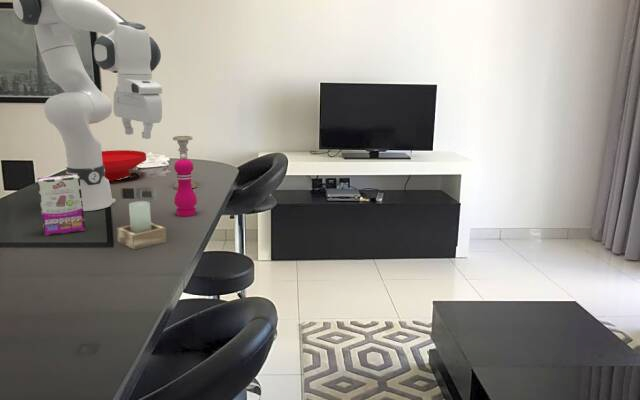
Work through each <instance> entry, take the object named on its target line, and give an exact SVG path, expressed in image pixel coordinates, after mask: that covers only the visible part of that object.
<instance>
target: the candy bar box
mask: <svg viewBox="0 0 640 400" xmlns="http://www.w3.org/2000/svg"><path fill="white" fill-rule="evenodd" d="M36 182H37V189H38V190H37V191H38V197H39V203H40V204H39V205H40V213H41V218H42V219H41V221H42V228H43V234H44V236H45V237H47V236H54V235H63V234H71V233H76V232H78V233H79V232H84V231H86V223H85V222H86V220H85V213H84V212H85V211H83V203H82V194H81V186H80V178H79V176H78V175H67V176H66V175H60V176H59V175H57V176H46V177H37V181H36Z"/></svg>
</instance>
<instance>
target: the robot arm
mask: <svg viewBox="0 0 640 400" xmlns="http://www.w3.org/2000/svg"><path fill="white" fill-rule="evenodd" d="M12 7H13V10H14V13H15V14H16V17H17V18H18V20H19V21H20V22H21V23H23V24H25V25H28V26H34V34H35V35H34V36H35V39H36V43H37V44H36V45H37V47H38V49H39V53H40V56H41V58H42V62H43V64H44V66H45V69H46V72H47V75H48V77H49V79H50V80H52V81H53V82H54V83H55V84H57V85H58V87H60V88H61V89H62V90H63V91H64V92H61V93H57V94H55V95H53V96H51V97H48V99H47V100H46V101H45V104H44V108H43V109H44V115H45V117H46V120H47V121H48V122H49V123H50V124H51V125H53V126H54V127H55V128H56V129H57V131H58V132H59V134H60V136H61V138H62V141H63V143H64V147H65V153H66V154H65V155H66V163H67V166H66V167H65V169H66V170H65V176H67V175H78V176H79V178H80V186H81V194H82V203H83V212H90V211H97V210H101V209H106V208H108V207H111V206H112V205H113V204H114V203H116V198H113V197H112V191H111V184H110V182H109V180H108V179H107V178H105V176H104V175H105V168H104V165H103V162H102V144H101V142H100V140H99V139H98V138H96V137H95V136H94V134H93V133H92V130H91V128H90V125H92V124H98V123H101V122H103V121H104V120H106V119H108V118H109V117H110V116H111V114H112V112H113V115H114V116H115V117H118V118H121V123H122V126H123V127H124V134H126V135H133V134H134V128H133V126H132V123H131V122H132V121H135V122H141V123H142V126H143V131H142V132H141V138H142V139H144V140H148V139H149V140H150V139H152V135H151V134H152V133H151V132H152V130H153V127H154V124H159V123H160V122H161V121H162V117H163V101H162V97H161V95H162V94H163V86H162V85H161V84H159V83H158V82H157V81H155V79H154V78H153V72H154V71H155V69H156V68H157V67H158V65H159V64H160V63H161V62H160V61H161V58H162V57H161V56H162V55H161V53H162V52H161V49H160V47H159V44H158V43H157V42H156V41H155V40H154V38H152V37H151V36H150V34H149V30H148V28H147V27H146V26H145V25H144V24H141V23H137V22H131V21H127V20H125V18H123V17H122V16H121V15H120V14H119V13H117V12H115V11H114V10H112V9H111V8H109V7H107V6H106V5H105V4H103V3H102V2H101V1H98V0H12ZM70 28H73V29H76V30H79V31H85V32H86V31H87V32H94V33H99V34H103V35H100V36H98V38H97V39H96V40H95V42H94V44H93V47H92V56H93V59H94V61H95V63H96V64H97V65H98V67H99V68H100V69H102V70H105V71H109V72H117V86H116V88H115V91H114V92H113V104H112V101H111V100H110V98H109V96H108V95H107V94H105V93H103V92H102V91H101V90H100V89H99V88H98V87H97V85H96V84H95V83H94V81H93V80H92V79H91V77H90V76H89V74H88V73H87V71H86V69H85V67H84V63H83V61H82V59H81V56H80V53H79V52H78V51H79V50H78V49H77V45H76V42H75V40H74V38H73V36H72V33H71V29H70Z"/></svg>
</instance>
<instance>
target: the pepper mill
mask: <svg viewBox="0 0 640 400" xmlns="http://www.w3.org/2000/svg"><path fill="white" fill-rule="evenodd" d="M193 170H194V163H193V162H192V161H191V160H190V159H186V155H185V154H182V155H181V159H180V158H179V159H178V160H176V161H175V163H174V171H175V172H176V179H177V182H178V189H176V193H175V195H174V205H175V206H176V207H177V208H176V215H177V216H179V217H192V216H195V215H196V214H197V208H196V205H197V204H198V200H197V195H196V193H195V191H194V189H192V186H191V181H192V179H193V173H192V172H193Z"/></svg>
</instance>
